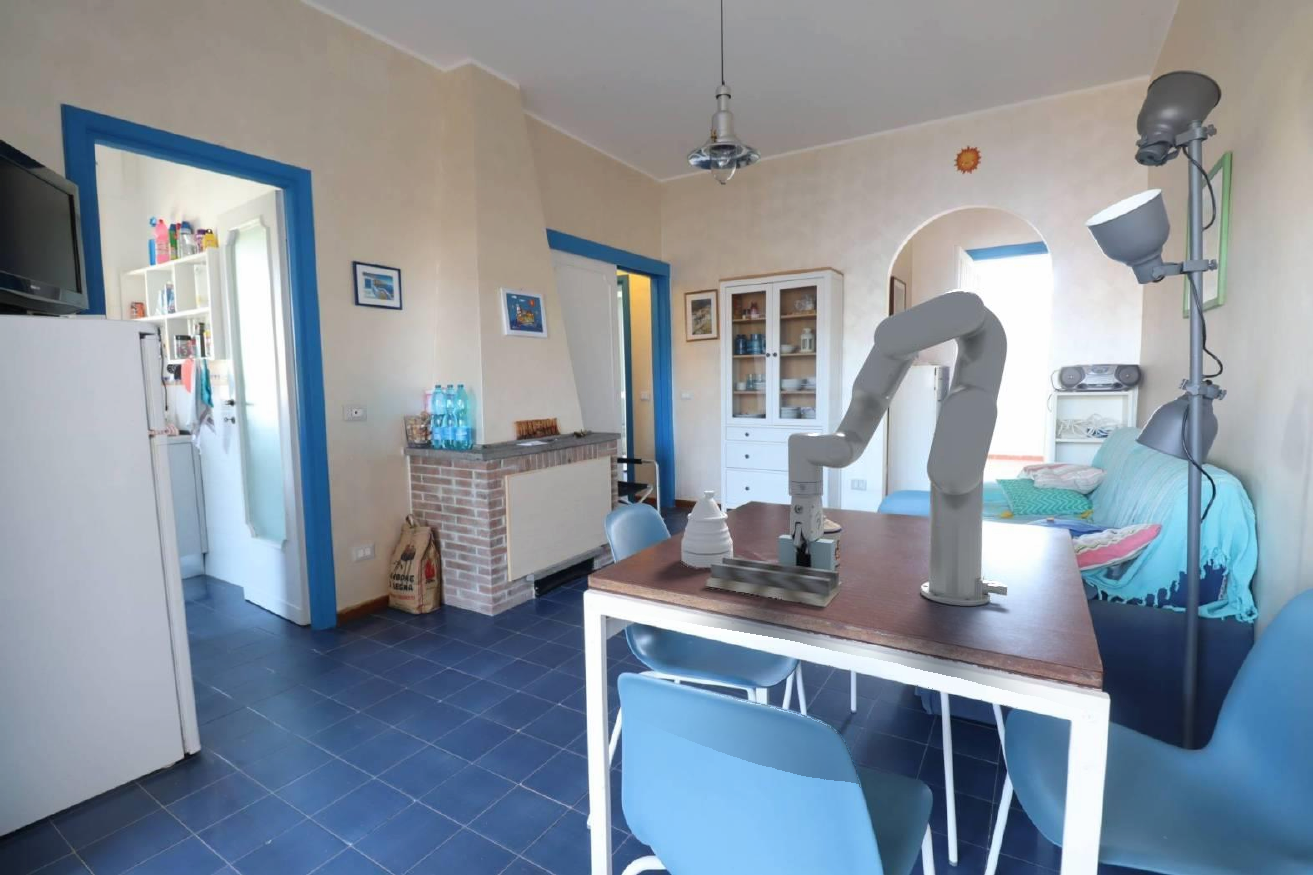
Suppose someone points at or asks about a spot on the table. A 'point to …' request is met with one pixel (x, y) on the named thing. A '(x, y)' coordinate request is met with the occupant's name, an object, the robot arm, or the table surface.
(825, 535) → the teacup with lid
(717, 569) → the track board
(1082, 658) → the table surface
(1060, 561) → the table surface
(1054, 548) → the table surface
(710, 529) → the honey pot
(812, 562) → the door panel
